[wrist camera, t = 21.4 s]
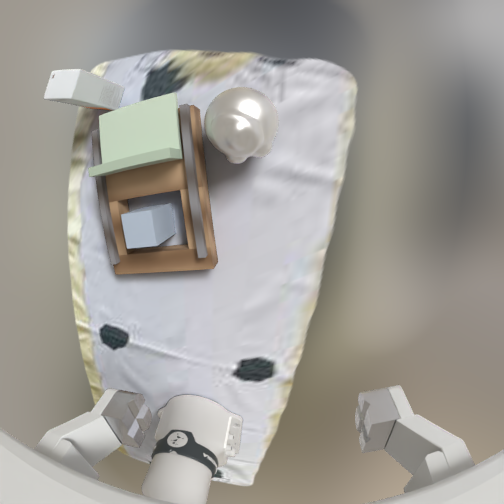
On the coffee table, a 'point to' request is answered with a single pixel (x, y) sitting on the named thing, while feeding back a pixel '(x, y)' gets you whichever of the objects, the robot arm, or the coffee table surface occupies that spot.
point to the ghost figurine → (242, 124)
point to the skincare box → (83, 90)
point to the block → (148, 225)
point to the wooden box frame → (153, 182)
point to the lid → (139, 135)
